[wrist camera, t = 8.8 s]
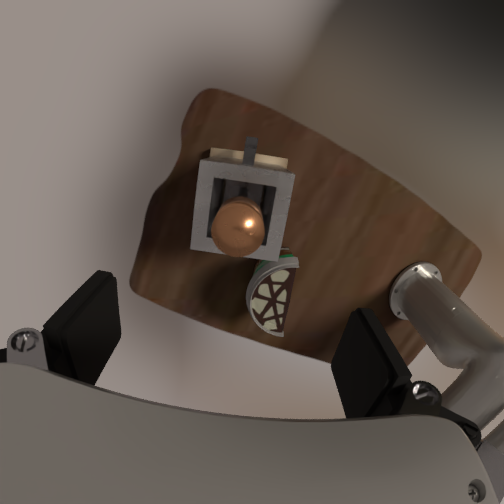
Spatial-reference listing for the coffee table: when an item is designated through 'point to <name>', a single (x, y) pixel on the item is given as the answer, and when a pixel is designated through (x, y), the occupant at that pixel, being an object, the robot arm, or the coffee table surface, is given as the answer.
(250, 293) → the food container
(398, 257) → the coffee table surface
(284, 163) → the base
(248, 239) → the plunger
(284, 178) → the press sleeve
